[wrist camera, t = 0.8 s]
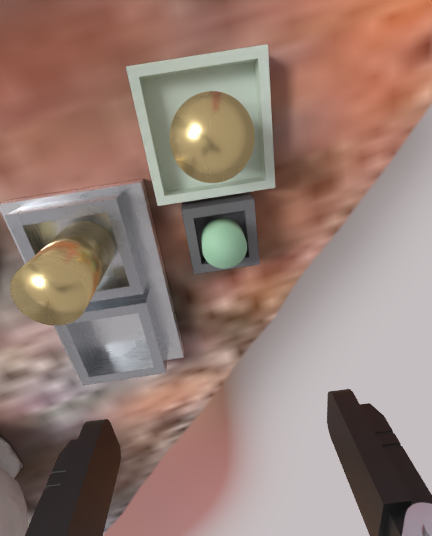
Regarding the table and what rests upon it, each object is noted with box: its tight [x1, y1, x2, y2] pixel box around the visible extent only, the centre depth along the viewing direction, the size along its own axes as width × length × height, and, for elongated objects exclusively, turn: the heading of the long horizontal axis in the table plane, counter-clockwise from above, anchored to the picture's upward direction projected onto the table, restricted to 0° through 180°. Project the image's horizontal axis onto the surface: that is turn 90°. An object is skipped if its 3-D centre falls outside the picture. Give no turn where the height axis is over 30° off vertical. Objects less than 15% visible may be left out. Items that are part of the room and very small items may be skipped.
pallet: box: [0, 179, 184, 385], centre depth 25 cm, size 16×10×3 cm, turn 8°
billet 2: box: [170, 91, 255, 183], centre depth 18 cm, size 4×4×7 cm
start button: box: [201, 217, 247, 269], centre depth 22 cm, size 3×3×2 cm
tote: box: [126, 44, 275, 206], centre depth 21 cm, size 8×8×2 cm
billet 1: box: [10, 221, 115, 325], centre depth 20 cm, size 4×4×7 cm
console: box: [182, 192, 260, 274], centre depth 23 cm, size 5×5×2 cm
